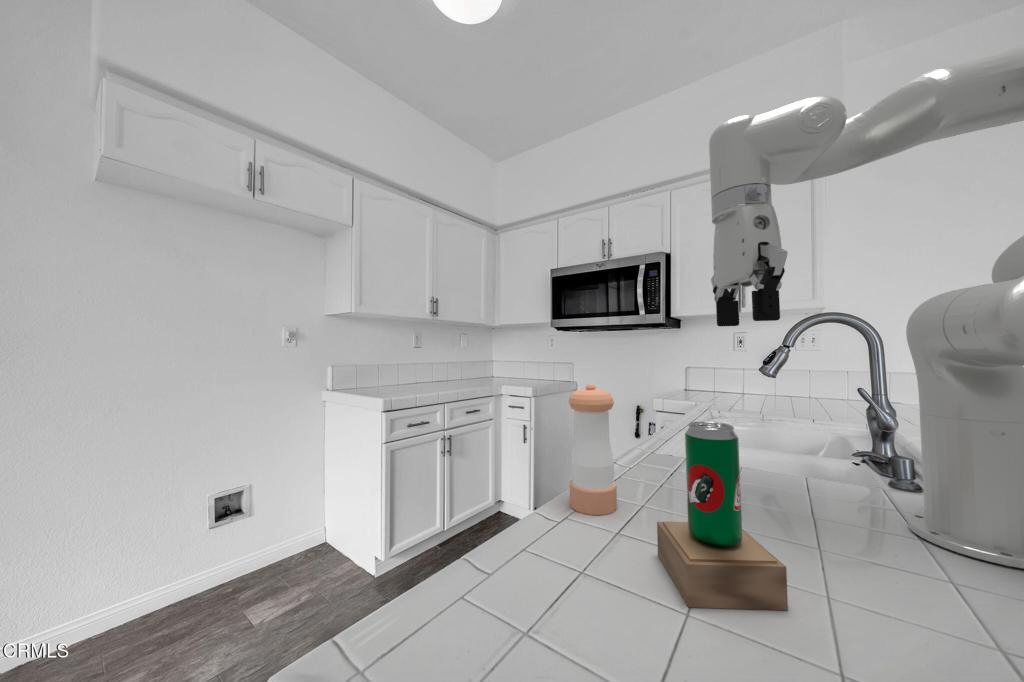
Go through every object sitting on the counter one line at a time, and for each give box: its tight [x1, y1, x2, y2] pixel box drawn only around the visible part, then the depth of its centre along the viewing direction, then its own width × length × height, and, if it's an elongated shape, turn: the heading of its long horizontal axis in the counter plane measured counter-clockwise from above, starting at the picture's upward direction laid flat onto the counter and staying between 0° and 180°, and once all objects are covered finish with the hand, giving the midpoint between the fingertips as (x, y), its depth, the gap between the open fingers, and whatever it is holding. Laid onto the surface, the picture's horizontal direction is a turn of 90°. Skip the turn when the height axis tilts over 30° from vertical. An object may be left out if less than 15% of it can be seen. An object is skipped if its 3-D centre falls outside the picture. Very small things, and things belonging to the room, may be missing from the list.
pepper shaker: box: [568, 383, 618, 516], centre depth 59 cm, size 7×7×19 cm
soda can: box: [684, 421, 743, 548], centre depth 40 cm, size 5×5×12 cm
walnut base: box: [656, 521, 789, 611], centre depth 40 cm, size 9×9×4 cm
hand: (745, 323), depth 54 cm, fingers open, 9 cm apart
